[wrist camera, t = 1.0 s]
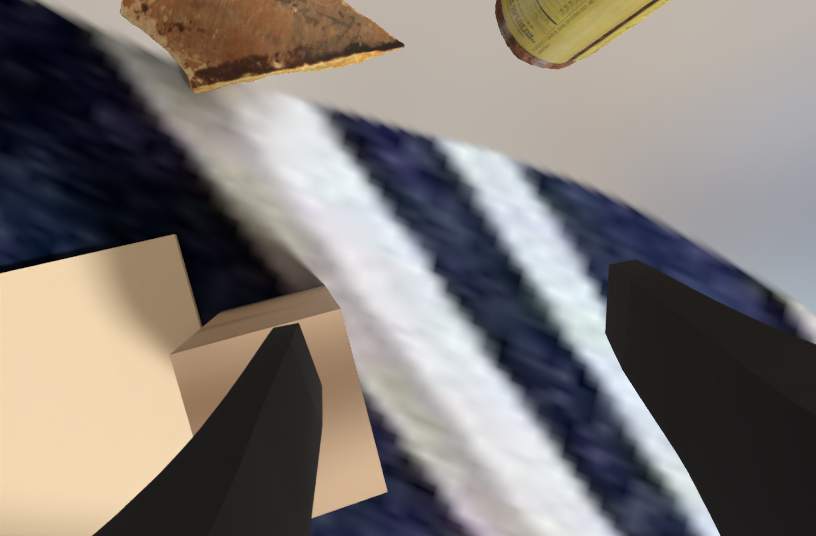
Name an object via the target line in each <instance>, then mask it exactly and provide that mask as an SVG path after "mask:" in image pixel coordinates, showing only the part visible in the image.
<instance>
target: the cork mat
mask: <svg viewBox="0 0 816 536" xmlns="http://www.w3.org/2000/svg"><path fill="white" fill-rule="evenodd" d="M201 328H202V324H201V320H200V317H199V313H198V310H197V306H196V302H195V299H194V295H193V292H192V288H191V285H190V281H189V278H188V274H187V271H186V267H185V263H184V260H183V256H182V253H181V249H180V246H179V242H178V239H177V235H176V234H173V235H169V236H165V237H160V238H156V239H151V240H147V241H142V242H138V243H133V244H129V245H125V246H120V247H116V248H111V249H107V250H102V251H98V252H93V253H89V254H85V255H80V256H76V257H71V258H67V259H62V260H58V261H53V262H49V263H45V264H40V265H36V266H31V267H27V268H22V269H18V270H13V271H9V272H5V273H0V536H92V535H93V534H95V533H96V532H97V531H98V530H99V529H100V528H101V527H103V526H104V525H105V524H106V523H107V522H108V521H110V520H111V519H112V518H113V517H114V516H115V515H116V514H117V513H119V512H120V511H121V510H122V509H123V508H124V507H125V506H126V505H127V504H128V503H129V502H130V501H131V500H132V499H133V498H134V497H135V496H136V495H137V494H138V493H140V492H141V491H142V490H143V489H144V488H145V487H146V486H147V485H148V484H149V483H150V482H151V481H152V480H153V479H154V478H155V477H156V476H157V475H158V474H159V473H160V472H161V471H162V470H163V469H164V468H165V467H166V466H167V465H168V464H169V463H170V462H171V461H172V459H173V458H174V457H175V456H176V455H177V454H178V453H179V452H180V451H181V450H182V449H183V448H184V446H185V445H186V444H187V443H188V442H189V441H190V440H191V439H192V437H193V435H192V431H191V428H190V424H189V421H188V417H187V414H186V411H185V407H184V404H183V400H182V397H181V393H180V390H179V386H178V383H177V379H176V376H175V373H174V369H173V366H172V362H171V359H170V354H171V353H172V352H173V351H174V350H176V349H177V348H178V347H179V346H180V345H182V344H183V343H184V342H185V341H186V340H188V339H189V338H190V337H191V336H192V335H194V334H195V333H196V332H197V331H198V330H200V329H201Z"/></svg>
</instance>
